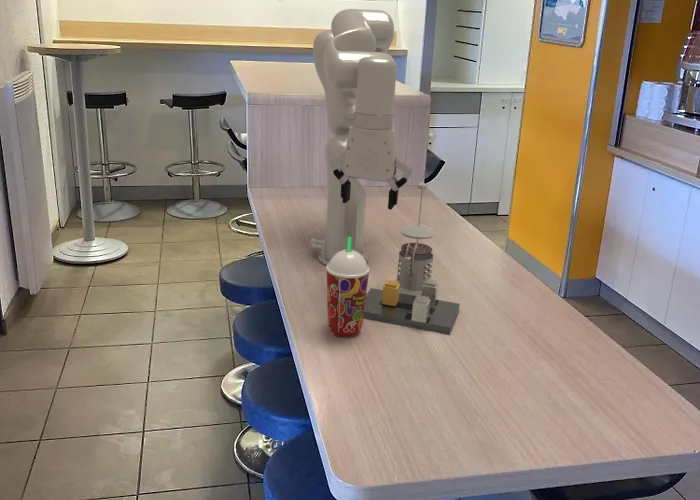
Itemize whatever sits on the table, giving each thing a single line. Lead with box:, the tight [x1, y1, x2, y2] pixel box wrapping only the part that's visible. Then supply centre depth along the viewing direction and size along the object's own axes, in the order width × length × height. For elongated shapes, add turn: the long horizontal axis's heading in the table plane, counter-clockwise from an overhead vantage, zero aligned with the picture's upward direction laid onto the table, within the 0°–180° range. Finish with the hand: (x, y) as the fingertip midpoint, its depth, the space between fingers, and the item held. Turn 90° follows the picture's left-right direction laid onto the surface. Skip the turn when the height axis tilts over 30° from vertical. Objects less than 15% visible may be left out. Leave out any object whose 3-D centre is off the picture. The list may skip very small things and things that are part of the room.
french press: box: [395, 182, 437, 296], centre depth 152 cm, size 10×12×25 cm
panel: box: [363, 278, 461, 335], centre depth 143 cm, size 20×12×6 cm, turn 73°
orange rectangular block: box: [382, 279, 400, 306], centre depth 144 cm, size 3×3×5 cm
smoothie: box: [325, 237, 370, 338], centre depth 132 cm, size 8×8×20 cm
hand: (368, 204), depth 139 cm, fingers open, 9 cm apart
